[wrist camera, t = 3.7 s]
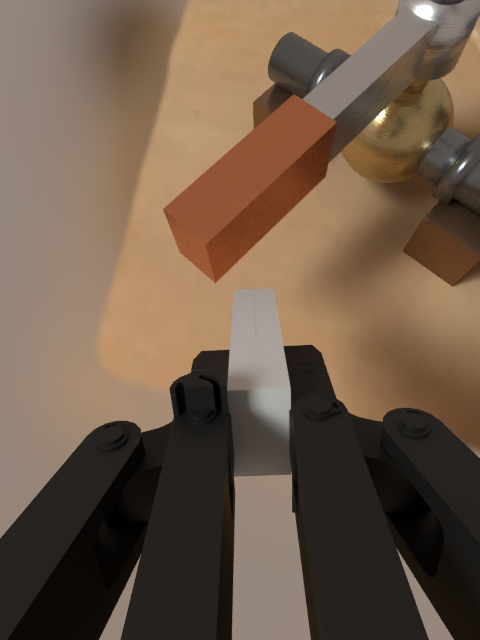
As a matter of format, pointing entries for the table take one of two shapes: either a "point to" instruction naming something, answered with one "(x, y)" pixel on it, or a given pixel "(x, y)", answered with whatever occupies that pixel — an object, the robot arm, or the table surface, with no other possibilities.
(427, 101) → the valve stand
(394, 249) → the table surface
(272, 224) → the valve lever
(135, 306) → the table surface
